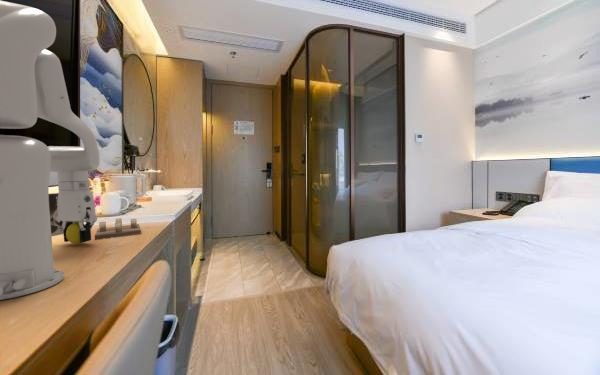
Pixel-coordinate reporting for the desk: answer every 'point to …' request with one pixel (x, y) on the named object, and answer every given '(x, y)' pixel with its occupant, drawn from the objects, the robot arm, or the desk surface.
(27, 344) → the desk surface
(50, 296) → the desk surface
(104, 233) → the peg cradle
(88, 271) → the desk surface
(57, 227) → the coffee box
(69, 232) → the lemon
